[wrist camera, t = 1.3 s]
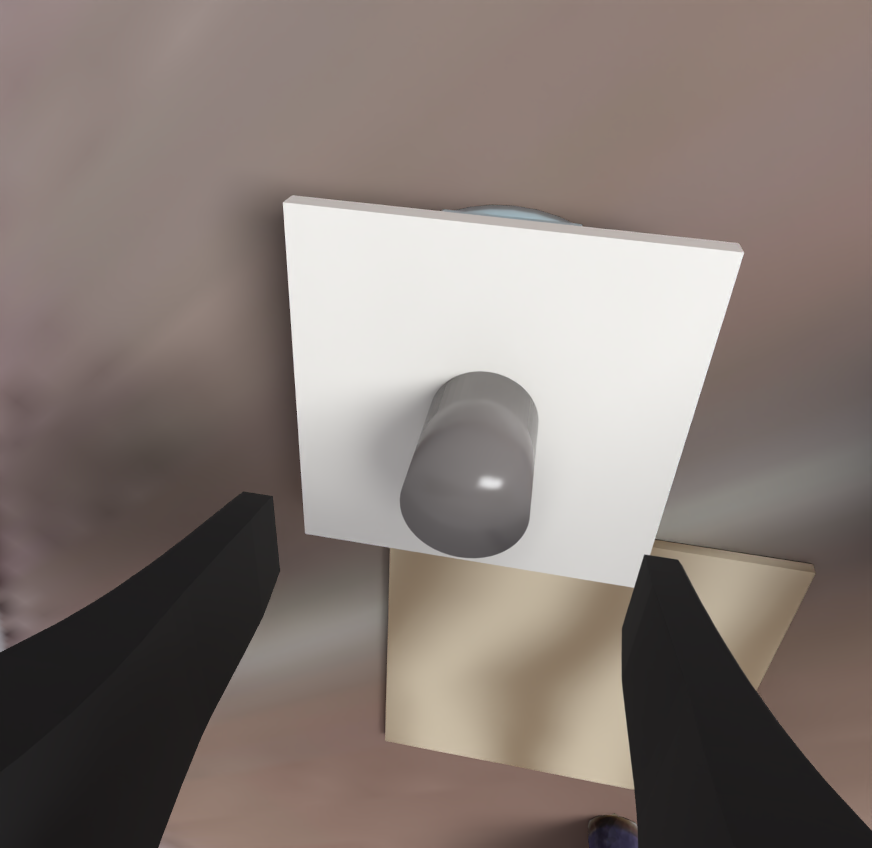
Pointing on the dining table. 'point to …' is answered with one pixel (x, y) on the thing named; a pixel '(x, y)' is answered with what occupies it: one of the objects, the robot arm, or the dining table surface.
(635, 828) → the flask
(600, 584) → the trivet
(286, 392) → the dining table surface
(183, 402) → the dining table surface
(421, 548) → the cover
